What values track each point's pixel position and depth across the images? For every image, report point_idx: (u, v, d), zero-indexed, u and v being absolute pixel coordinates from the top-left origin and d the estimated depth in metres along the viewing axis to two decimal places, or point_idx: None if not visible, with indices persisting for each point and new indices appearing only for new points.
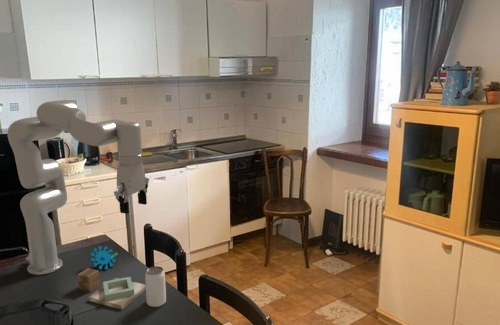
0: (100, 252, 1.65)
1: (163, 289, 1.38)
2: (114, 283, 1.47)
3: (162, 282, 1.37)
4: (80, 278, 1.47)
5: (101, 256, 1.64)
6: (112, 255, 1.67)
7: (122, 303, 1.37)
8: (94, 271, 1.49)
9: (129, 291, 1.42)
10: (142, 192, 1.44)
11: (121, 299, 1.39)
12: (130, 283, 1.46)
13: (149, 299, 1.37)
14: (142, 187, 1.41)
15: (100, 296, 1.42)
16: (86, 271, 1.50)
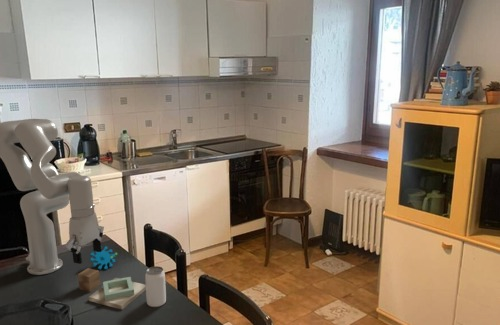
0: (100, 252, 1.65)
1: (163, 289, 1.38)
2: (114, 283, 1.47)
3: (162, 282, 1.37)
4: (80, 278, 1.47)
5: (101, 256, 1.64)
6: (112, 255, 1.67)
7: (122, 303, 1.37)
8: (94, 271, 1.49)
9: (129, 291, 1.42)
10: (97, 240, 1.50)
11: (121, 299, 1.39)
12: (130, 283, 1.46)
13: (149, 299, 1.37)
14: (95, 236, 1.47)
15: (100, 296, 1.42)
16: (86, 271, 1.50)
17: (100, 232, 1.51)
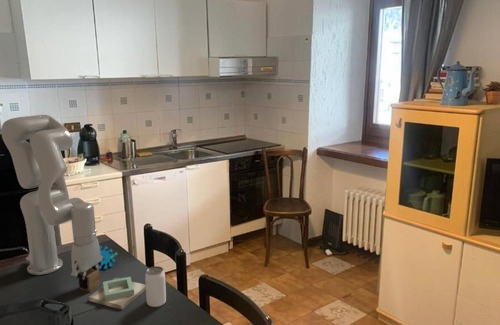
0: (100, 252, 1.65)
1: (163, 289, 1.38)
2: (114, 283, 1.47)
3: (162, 282, 1.37)
4: None
5: None
6: (112, 255, 1.67)
7: (122, 303, 1.37)
8: (94, 271, 1.49)
9: (129, 291, 1.42)
10: None
11: (121, 299, 1.39)
12: (130, 283, 1.46)
13: (149, 299, 1.37)
14: (97, 261, 1.49)
15: (100, 296, 1.42)
16: (86, 270, 1.50)
17: None
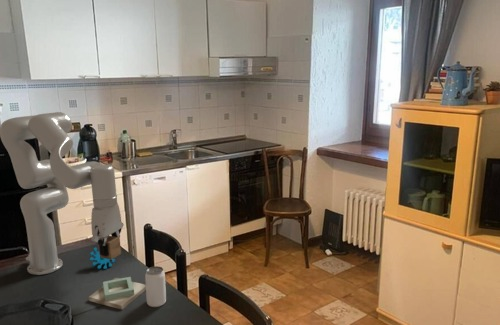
0: None
1: (163, 289, 1.38)
2: (114, 283, 1.47)
3: (162, 282, 1.37)
4: None
5: None
6: None
7: (122, 303, 1.37)
8: (115, 238, 1.42)
9: (129, 291, 1.42)
10: None
11: (121, 299, 1.39)
12: (130, 283, 1.46)
13: (149, 299, 1.37)
14: (118, 228, 1.42)
15: (100, 296, 1.42)
16: None
17: (119, 228, 1.45)
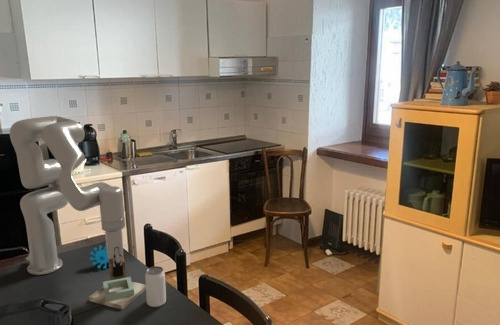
0: (100, 251, 1.65)
1: (163, 289, 1.38)
2: (114, 283, 1.47)
3: (162, 282, 1.37)
4: None
5: (100, 255, 1.65)
6: None
7: (122, 303, 1.37)
8: None
9: (129, 291, 1.42)
10: None
11: (121, 299, 1.39)
12: (130, 283, 1.46)
13: (149, 299, 1.37)
14: None
15: (100, 296, 1.42)
16: (111, 260, 1.42)
17: None
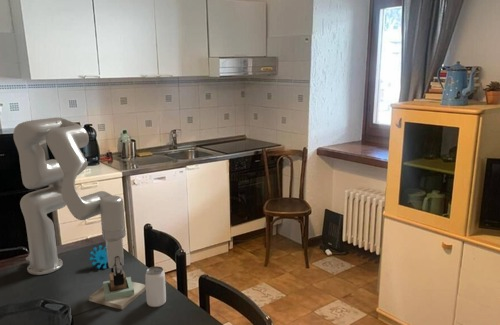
0: (100, 251, 1.66)
1: (163, 289, 1.38)
2: None
3: (162, 282, 1.37)
4: None
5: (100, 255, 1.65)
6: None
7: (122, 303, 1.37)
8: None
9: (129, 291, 1.42)
10: None
11: (121, 299, 1.39)
12: (130, 283, 1.46)
13: (149, 299, 1.37)
14: None
15: (100, 296, 1.42)
16: (112, 275, 1.43)
17: None
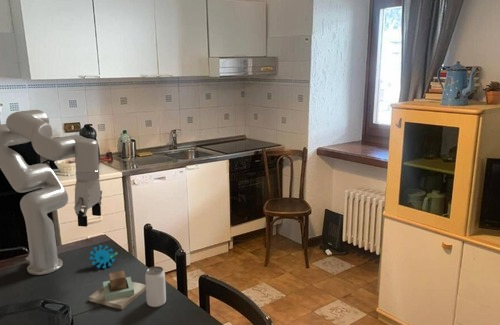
0: (100, 251, 1.66)
1: (163, 289, 1.38)
2: None
3: (162, 282, 1.37)
4: (114, 283, 1.41)
5: (100, 255, 1.65)
6: (112, 254, 1.67)
7: (122, 303, 1.37)
8: (121, 272, 1.45)
9: (129, 291, 1.42)
10: (96, 204, 1.50)
11: (121, 299, 1.39)
12: (130, 283, 1.46)
13: (149, 299, 1.37)
14: (98, 200, 1.47)
15: (100, 296, 1.42)
16: (112, 275, 1.43)
17: None
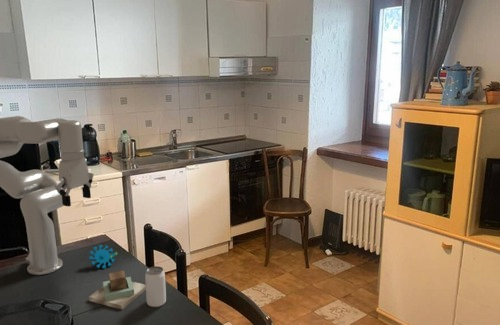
0: (100, 251, 1.66)
1: (163, 289, 1.38)
2: None
3: (162, 282, 1.37)
4: (114, 283, 1.41)
5: (100, 255, 1.65)
6: (112, 254, 1.67)
7: (122, 303, 1.37)
8: (121, 272, 1.45)
9: (129, 291, 1.42)
10: (86, 186, 1.53)
11: (121, 299, 1.39)
12: (130, 283, 1.46)
13: (149, 299, 1.37)
14: (85, 182, 1.50)
15: (100, 296, 1.42)
16: (112, 275, 1.43)
17: (90, 179, 1.54)
